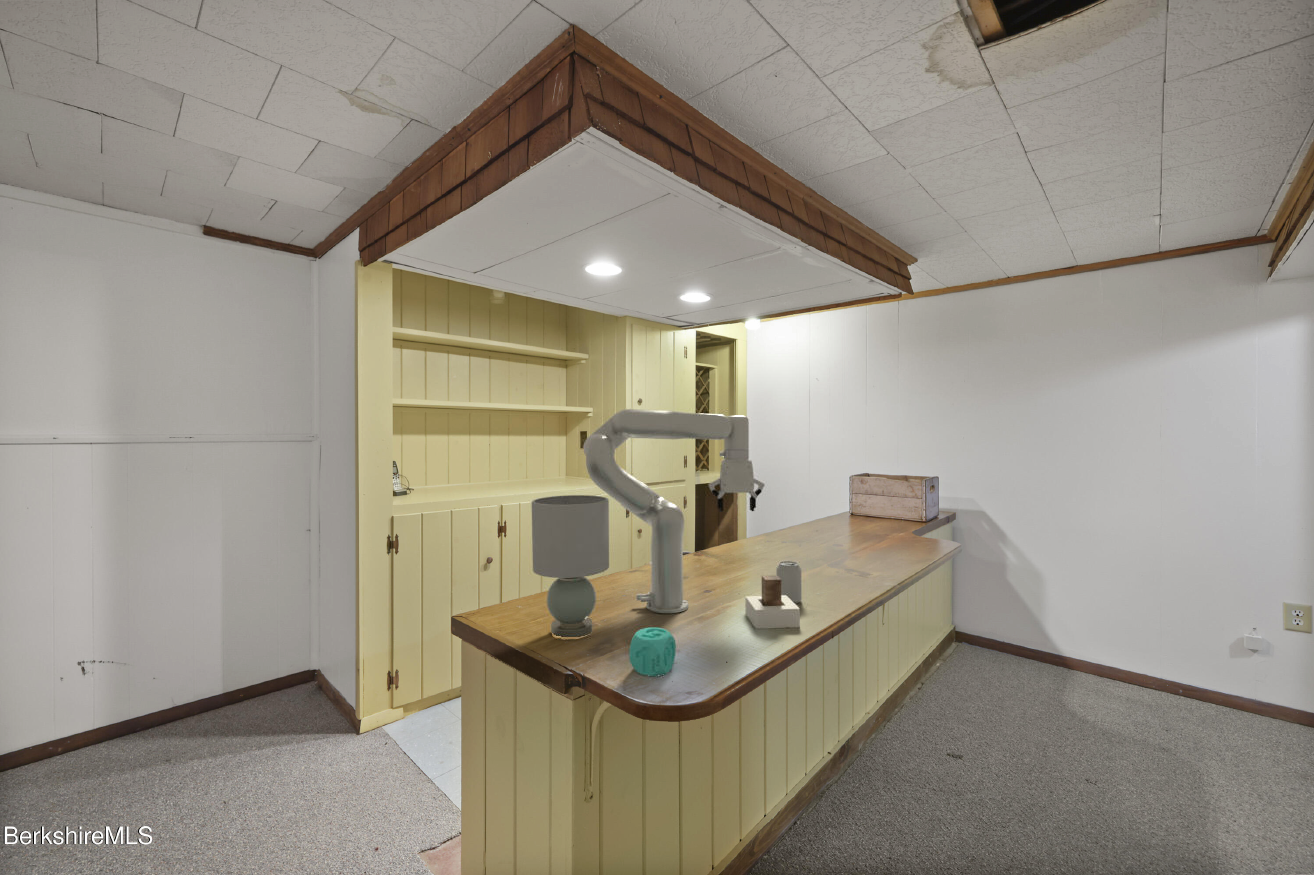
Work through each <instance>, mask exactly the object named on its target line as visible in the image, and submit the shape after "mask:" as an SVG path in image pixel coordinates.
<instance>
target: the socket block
mask: <svg viewBox="0 0 1314 875" xmlns="http://www.w3.org/2000/svg"><path fill="white" fill-rule="evenodd" d="M744 598H745V606H744V607H745V615H746V617H747V618H748V619H749V621H750V622H751V624H752V625H753V626H754V628H755V629H785V628H786V627H789V628H800V627H801V621H800V619H801V618H800V617H801V614H800V612H801V609H800V607H799V606H798V605H797V604H794V603H793V602H792V601H791V600H790V599H789V598H788V597H787V596H786V595H781V606H763V605H762V595H751V596H749V595H748V596H745V597H744Z"/></svg>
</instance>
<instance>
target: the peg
mask: <svg viewBox="0 0 1314 875" xmlns="http://www.w3.org/2000/svg"><path fill="white" fill-rule="evenodd" d="M761 596H762V605H763V606H781V579H780V578H779V577H778V576H777V575H776V574H774V575H773V574H771V575H770V574H769V575H761Z"/></svg>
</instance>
